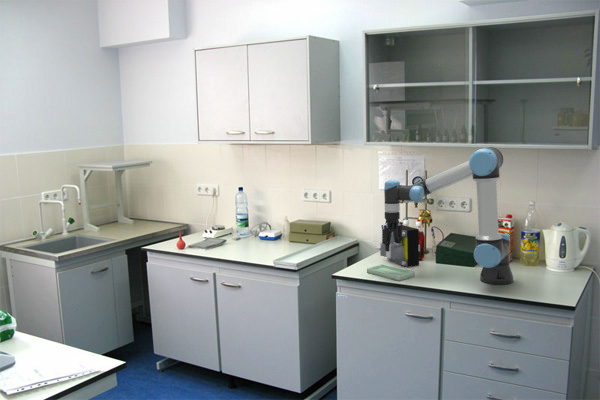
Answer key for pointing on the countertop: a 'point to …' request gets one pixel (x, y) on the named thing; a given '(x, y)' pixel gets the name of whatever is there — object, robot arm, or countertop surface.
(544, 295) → the countertop surface
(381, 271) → the tray
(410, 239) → the electrical component
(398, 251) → the connector
